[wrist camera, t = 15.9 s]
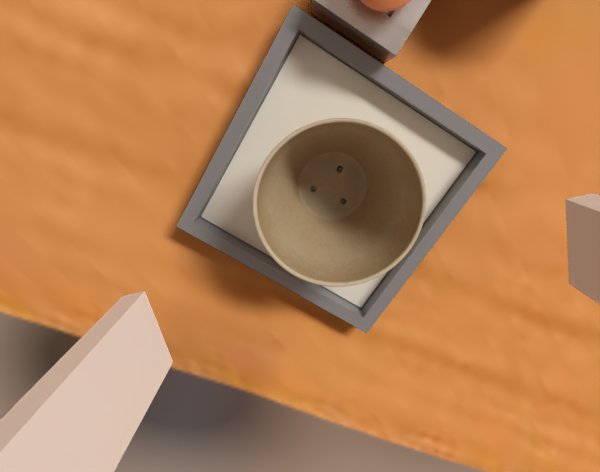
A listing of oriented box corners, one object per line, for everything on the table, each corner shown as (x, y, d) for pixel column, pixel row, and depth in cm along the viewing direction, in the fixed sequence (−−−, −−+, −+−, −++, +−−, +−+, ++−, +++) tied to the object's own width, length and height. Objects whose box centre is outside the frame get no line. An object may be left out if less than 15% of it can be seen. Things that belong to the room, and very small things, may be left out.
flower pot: (337, 272, 32) (344, 317, 25) (239, 191, 30) (217, 216, 23) (429, 178, 29) (464, 200, 22) (327, 84, 27) (332, 76, 21)
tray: (184, 218, 32) (176, 226, 30) (294, 11, 27) (293, 4, 25) (363, 319, 34) (366, 333, 32) (493, 145, 29) (507, 148, 27)
